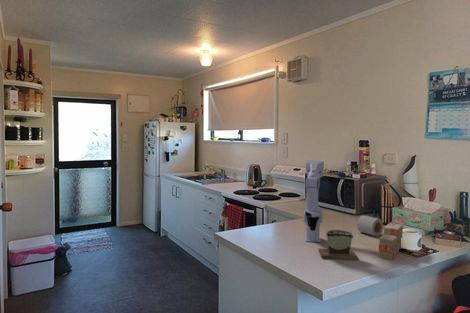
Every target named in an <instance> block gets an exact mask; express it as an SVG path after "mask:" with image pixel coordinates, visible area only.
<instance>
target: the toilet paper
mask: <svg viewBox="0 0 470 313" xmlns="http://www.w3.org/2000/svg"><path fill="white" fill-rule="evenodd" d="M356 227H357V230H358V232H360V233H364V234H366V235H370V236H373V237H379V236H380V235H381V234H382V233H383V231H384V222H383V220H382V219H380V218H377V217H372V216H370V215H369V216H368V215H361V216H359V218H358V220H357V224H356Z"/></svg>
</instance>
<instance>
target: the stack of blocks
mask: <svg viewBox="0 0 470 313" xmlns="http://www.w3.org/2000/svg"><path fill="white" fill-rule="evenodd" d="M403 226H404V225H403V224H401V223H400V224H399V223H392V222H389V223H387V225H385V226H384V227H383V234H382V235H381V236H380V237H379V243H378V244H379V245H378V258H383V259H387V260H391V261H392V260H394V259H395V258H396V256H397V254H398V253H399V252H400V251H399V249H400V248H401V238H402V239H403ZM398 251H399V252H398ZM397 252H398V253H397Z"/></svg>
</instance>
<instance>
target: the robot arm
mask: <svg viewBox="0 0 470 313" xmlns="http://www.w3.org/2000/svg"><path fill="white" fill-rule="evenodd" d="M324 171H325V161H324V160H309V159H307V160H306V162H305V173H306V176H307V177H306V178H305V188H306V189H305V192H306V193H305V194H306V197H305V198H306V199H305V200H306V201H305V207H304V210H303V222H304V223H305V235H303V237H304V239H305V242H307V243H309V242H310V243H312V242H313V243H321V242H322V240H321V238H320V233H321V232H320V229H321V227H320V226H321V224H322V223H323V209H322V208H321V207H320V206H319V189H320V185H321V184H320V180H321V178H323V177H324Z"/></svg>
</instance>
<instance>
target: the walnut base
mask: <svg viewBox="0 0 470 313" xmlns="http://www.w3.org/2000/svg"><path fill="white" fill-rule="evenodd" d="M317 250H318V251H319V252H318V254H319V253H320V254H319V256H320V258H321V259H322V260H323V259H324V260H342V261H343V260H344V261H346V260H347V261H350V260H351V261H358V260H359V256H357V254H356V253H355V251H354V250H353V249H350V254H349V255H338V254H329V252H328V248H321V247H320V248H319V247H318V249H317Z"/></svg>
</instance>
